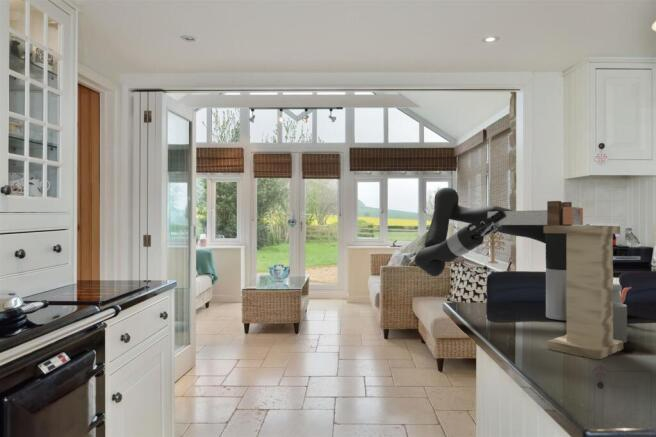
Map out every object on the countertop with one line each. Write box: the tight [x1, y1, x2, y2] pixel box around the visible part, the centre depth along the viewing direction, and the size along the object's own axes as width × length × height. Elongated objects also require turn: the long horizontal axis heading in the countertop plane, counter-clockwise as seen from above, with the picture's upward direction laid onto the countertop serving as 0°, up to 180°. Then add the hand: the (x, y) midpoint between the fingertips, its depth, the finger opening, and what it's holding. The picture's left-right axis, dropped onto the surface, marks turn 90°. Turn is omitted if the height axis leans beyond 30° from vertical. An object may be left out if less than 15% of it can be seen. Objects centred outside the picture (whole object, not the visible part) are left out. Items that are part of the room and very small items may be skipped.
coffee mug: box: [613, 302, 628, 344], centre depth 126 cm, size 13×10×10 cm
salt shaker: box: [613, 283, 623, 304], centre depth 147 cm, size 6×6×13 cm
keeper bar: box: [488, 206, 584, 226], centre depth 125 cm, size 7×25×5 cm, turn 38°
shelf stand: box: [544, 200, 624, 361], centre depth 114 cm, size 16×14×39 cm
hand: (507, 213), depth 131 cm, fingers closed on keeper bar, 4 cm apart
